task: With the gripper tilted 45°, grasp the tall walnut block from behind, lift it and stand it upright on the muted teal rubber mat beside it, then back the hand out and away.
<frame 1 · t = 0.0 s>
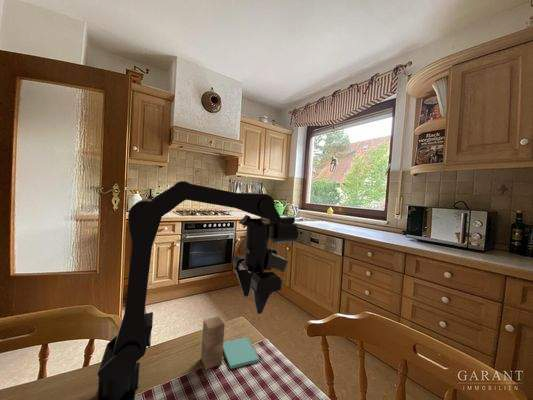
hand: (252, 304, 59), 14 cm above the table, tool pointing down, fingers open, 9 cm apart
walnut block: (211, 361, 58), on the table
mat: (239, 353, 62), on the table
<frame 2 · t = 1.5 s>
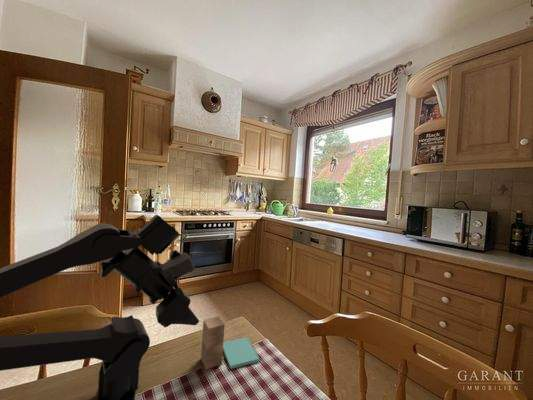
hand: (192, 312, 55), 14 cm above the table, tool tilted 45°, fingers open, 9 cm apart
nothing on the table moved.
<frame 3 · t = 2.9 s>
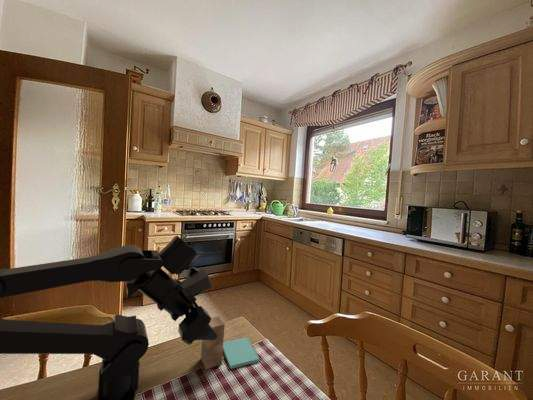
hand: (209, 326, 57), 9 cm above the table, tool tilted 45°, fingers open, 9 cm apart
nothing on the table moved.
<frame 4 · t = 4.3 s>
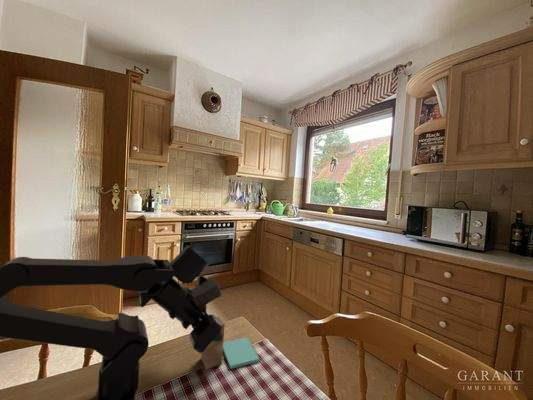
hand: (218, 333, 58), 7 cm above the table, tool tilted 45°, fingers closed on walnut block, 4 cm apart
walnut block: (211, 361, 58), on the table, touching gripper
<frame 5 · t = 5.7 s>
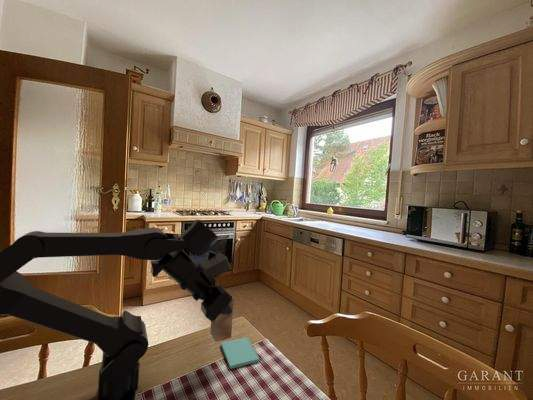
hand: (227, 308, 59), 13 cm above the table, tool tilted 45°, fingers closed on walnut block, 4 cm apart
walnut block: (220, 335, 59), point 6 cm above the table, touching gripper
when the fingers open (8 cm above the table, at t = 7.4 s): walnut block drops 1 cm, resting on mat.
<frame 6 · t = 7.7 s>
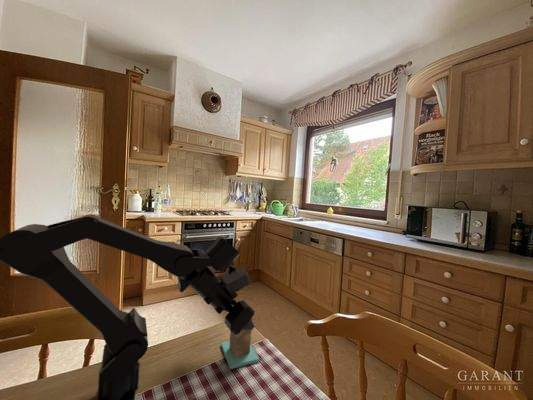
hand: (246, 320, 62), 9 cm above the table, tool tilted 45°, fingers open, 7 cm apart
walnut block: (239, 350, 62), point 1 cm above the table, touching mat
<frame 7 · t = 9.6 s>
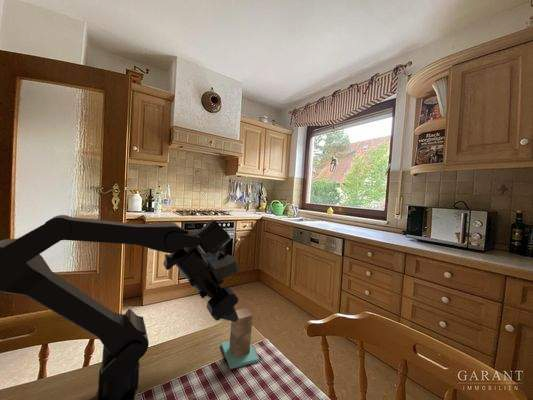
hand: (229, 310, 60), 12 cm above the table, tool tilted 40°, fingers open, 9 cm apart
nothing on the table moved.
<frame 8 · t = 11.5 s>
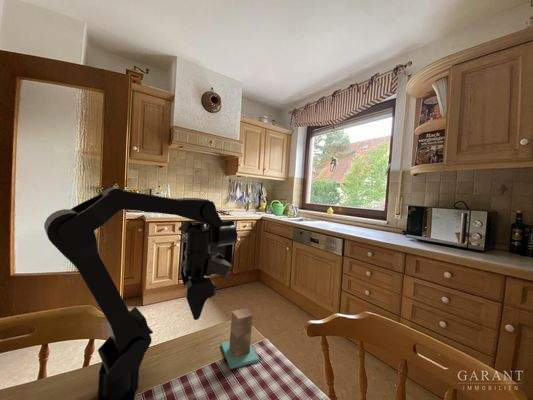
hand: (193, 309, 59), 12 cm above the table, tool pointing down, fingers open, 9 cm apart
nothing on the table moved.
at the end: walnut block 0.0 cm off-centre on the mat, point 0.8 cm above the mat's base; walnut block tilted 0°; the gripper is holding nothing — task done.
